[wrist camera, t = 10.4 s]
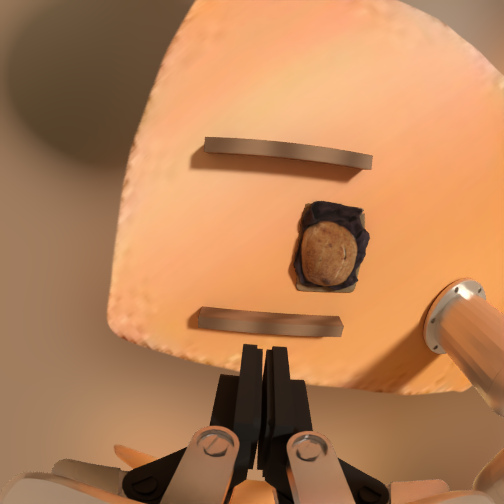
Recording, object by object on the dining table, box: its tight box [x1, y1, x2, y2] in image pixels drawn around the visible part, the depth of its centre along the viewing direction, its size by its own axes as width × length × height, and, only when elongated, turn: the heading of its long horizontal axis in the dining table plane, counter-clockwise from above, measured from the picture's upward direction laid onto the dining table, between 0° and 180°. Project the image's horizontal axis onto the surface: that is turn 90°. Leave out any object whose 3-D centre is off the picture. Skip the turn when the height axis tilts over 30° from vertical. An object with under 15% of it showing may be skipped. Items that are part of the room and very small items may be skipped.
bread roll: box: [294, 201, 370, 292], centre depth 30 cm, size 11×8×4 cm
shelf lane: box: [198, 137, 373, 337], centre depth 30 cm, size 17×21×2 cm
